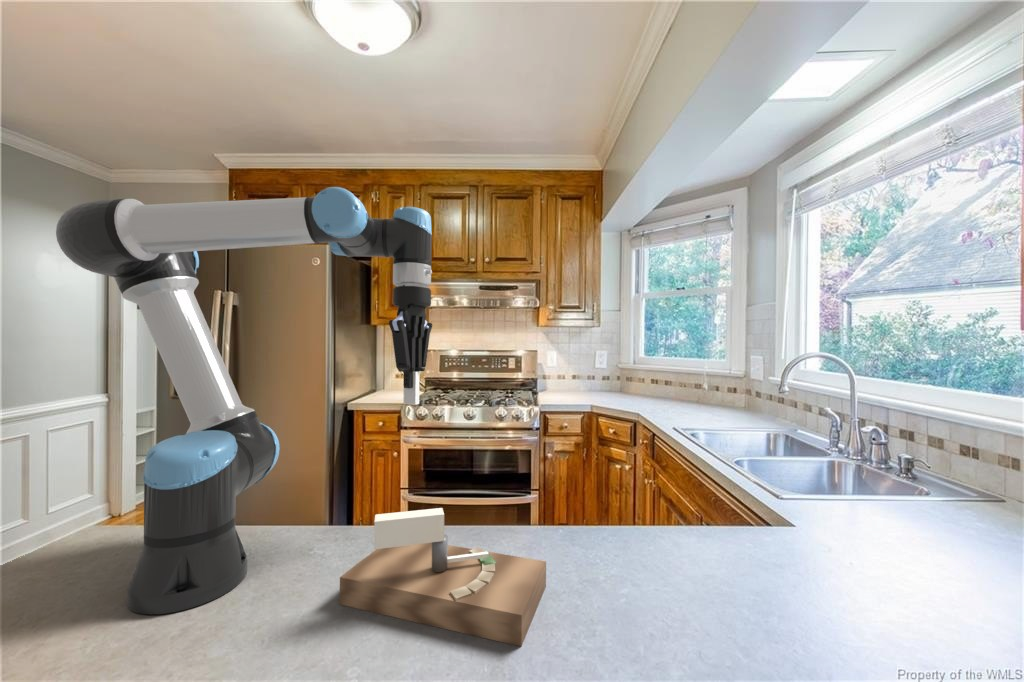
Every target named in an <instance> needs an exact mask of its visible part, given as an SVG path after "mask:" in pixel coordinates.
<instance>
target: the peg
mask: <svg viewBox="0 0 1024 682" xmlns="http://www.w3.org/2000/svg"><path fill="white" fill-rule="evenodd" d="M373 535H374V538H373V539H374V542H373V543H374V544H373V545H374V546H373V547H374V550H376V549H382V548H390V547H399V546H407V545H415V544H423V543H431V542H432V570H433V571H435V572H441V571H444V570H446V569H447V564H448V563H452V562H459V561H466V560H474V559H481V558H488V557H489V554H488V552H489V551H488V552H480V553H473V554H465V555H458V556H450V557H448V545H449V543H448V542H449V537H448V535H447V534H446V533H445V513H444V508H443V507H439V508H438V507H436V508H427V509H417V510H408V511H397V512H388V513H379V514H378V513H377V514H375V515H374V534H373Z"/></svg>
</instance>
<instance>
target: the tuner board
mask: <svg viewBox="0 0 1024 682" xmlns="http://www.w3.org/2000/svg"><path fill="white" fill-rule="evenodd" d="M480 552H488V554H489V557H488V558H481V559H474V560H466V561H459V562H452V563H448V564H447V569H446V570H444V571H441V572H435V571H433V570H432V542H431V543H423V544H415V545H407V546H399V547H390V548H382V549H374V551H372V552H370V554H369V555H367V556H365V558H363V559H361V560H360V561H358V563H356V564H355V565H354V566H352V567H351V568H350V569H349V570H347V571H346V572H344V573H343V574H342V575H341V576H339V605H341V606H345V607H350V608H354V609H358V610H363V611H367V612H372V613H375V614H378V615H379V614H381V615H384V616H388V617H393V618H398V619H402V620H404V621H410V622H415V623H418V624H423V625H427V626H432V627H436V628H439V629H445V630H448V631H453V632H458V633H461V634H466V635H470V636H473V637H479V638H483V639H488V640H491V641H495V642H496V641H497V642H500V643H505V644H508V645H512V646H518V647H522V646H523V644H524V641H525V639H526V637H527V634H528V631H529V630H530V626H531V624H532V622H533V620H534V617H535V614H536V612H537V609H538V607H539V604H540V603H541V599H542V597H543V595H544V592H545V589H546V588H547V561H546V560H540V559H533V558H527V557H522V556H517V555H511V554H510V555H509V554H505V553H498V552H492V551H487V550H485V549H483V548H481V547H480V546H477V547H475V548H468V547H462V546H456V545H455V546H454V545H451V544H450V545H449V544H448V557H450V556H458V555H465V554H473V553H480Z"/></svg>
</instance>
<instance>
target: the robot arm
mask: <svg viewBox="0 0 1024 682" xmlns="http://www.w3.org/2000/svg"><path fill="white" fill-rule="evenodd" d="M55 236H56V242H57V244H58V245H59V249H61V251H62V252H63V254H64V255H65V256H66V257H67V258H68V259H69V260H70V261H72V262H73V263H74V264H75V265H77V266H78V267H81V268H82V269H84V270H87V271H89V272H91V273H95V274H99V275H102V276H103V275H104V276H108V277H113V278H114V280H115V283H116V284H117V287H118V289H119V291H120V293H121V296H122V298H123V299H124V300H126V301H129V302H131V303H133V304H136V305H137V306H138V307H139V310H140V312H141V314H142V315H141V316H143V319H144V321H145V324H146V326H147V328H148V331H149V332H150V335H151V337H152V339H153V342H154V343H155V346H156V348H157V351H158V353H159V355H160V357H161V359H162V361H163V364H164V367H165V368H166V369H165V370H166V372H167V373H168V376H169V378H170V381H171V383H172V385H173V387H174V390H175V391H176V393H177V396H178V399H179V401H180V402H181V405H182V407H183V409H184V411H185V414H186V416H187V419H188V421H189V423H190V425H189V428H188V429H187V431H186V433H185V434H183V435H181V434H178V435H175V436H171V437H169V438H166V439H164V440H161V441H160V442H158V443H156V444H154V445H153V446H152V447H150V449H149V450H148V452H147V453H146V456H145V462H144V468H143V472H142V480H143V547H142V551H141V552H140V556H139V558H138V561H137V563H136V566H135V569H134V571H133V575H132V577H131V579H130V582H129V584H128V587H127V595H126V596H127V597H126V599H127V600H126V604H127V608H128V609H129V611H132V612H134V613H137V614H142V615H164V614H170V613H172V614H173V613H175V612H180V611H185V610H189V609H192V608H196V607H198V606H201V605H205V604H206V603H209V602H211V601H214V600H216V599H219V598H220V597H221V596H224V595H225V594H227V593H228V592H230V591H232V590H233V589H234V588H236V587H237V586H239V585H240V584H241V582H242V581H244V579H245V578H246V576H247V574H248V556H247V553H246V552H245V549H244V547H243V544H242V541H241V538H240V536H239V533H238V531H237V529H236V506H237V505H236V497H237V496H238V495H241V493H243V492H244V491H246V490H247V489H248V488H250V487H251V486H253V485H255V484H258V483H259V482H261V480H263V479H264V478H265V477H266V476H267V475H268V474H269V472H271V470H272V469H273V468H274V467H275V465H276V463H277V461H278V459H279V455H280V449H281V448H280V441H279V438H278V436H277V434H276V432H275V431H274V430H273V429H272V428H271V427H270V426H268V425H266V424H264V423H262V422H260V420H259V417H258V415H257V413H256V410H255V409H254V408H252V407H249V406H245V405H244V404H243V402H242V401H241V399H240V396H239V394H238V391H237V389H236V386H235V385H234V382H233V380H232V378H231V375H230V373H229V371H228V369H227V367H226V365H225V362H224V360H223V357H222V355H221V353H220V351H219V348H218V345H217V344H216V341H215V339H214V337H213V334H212V332H211V329H210V327H209V325H208V323H207V320H206V319H205V315H204V313H203V311H202V309H201V307H200V304H199V303H198V300H197V298H196V295H195V293H194V292H195V290H196V289H197V287H198V285H199V284H200V281H199V278H198V276H197V269H199V267H200V266H199V265H200V259H199V253H198V252H202V251H203V252H204V251H219V250H231V249H235V250H236V249H246V248H247V249H248V248H262V247H276V246H278V247H279V246H291V245H292V246H293V245H306V244H328V247H329V249H330V252H332V254H334V255H336V256H345V257H349V258H353V257H368V258H369V257H370V258H371V257H372V258H374V257H375V258H393V259H392V260H393V262H392V285H394V286H395V287H394V288H393V289H392V304H393V306H394V307H397V311H396V318H395V319H390V320H388V325H389V328H390V330H391V335H392V343H393V351H394V358H395V359H394V360H395V365H396V366H395V367H396V369H397V370H398V372H403V382H402V383H403V405H413V406H415V405H419V404H420V372H425V369H426V368H427V367H426V365H427V359H428V352H429V344H430V343H429V342H430V337H431V331H432V329H433V323H432V322H428V321H427V313H426V308H430V307H431V305H432V290H431V288H430V286H432V274H433V271H432V250H433V249H432V247H433V245H432V243H433V234H432V217H431V214H430V213H429V212H428V211H427V210H425V209H423V208H419V207H415V206H405V207H403V206H401V207H397V208H396V209H394V211H393V215H392V218H374V217H371V216H370V214H369V213H368V211H367V210H366V207H365V205H364V204H363V202H362V200H360V199H359V198H358V197H357V196H355V195H354V193H352V192H351V191H349V190H348V189H346V188H344V187H340V186H331V187H326V188H324V189H322V190H321V191H319V192H317V194H316V195H315V196H308V197H307V196H306V197H288V198H287V197H286V198H267V199H265V198H264V199H243V200H242V199H241V200H224V201H223V200H218V201H198V202H180V203H178V202H175V203H157V204H155V203H154V204H144V203H143V202H142V201H140V200H138V199H135V198H112V199H97V200H89V201H85V202H82V203H78V204H75V205H74V206H72V207H70V208H69V209H67V210H65V212H64V213H63V214H62V215H61V216H60V217H59V220H58V221H57V224H56V229H55Z"/></svg>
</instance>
